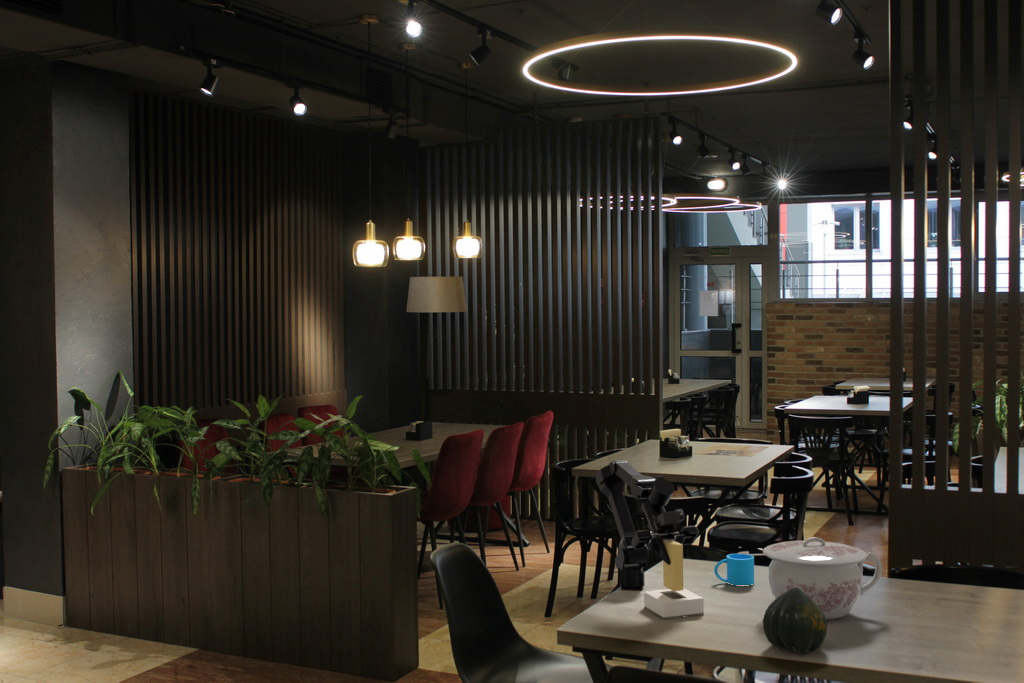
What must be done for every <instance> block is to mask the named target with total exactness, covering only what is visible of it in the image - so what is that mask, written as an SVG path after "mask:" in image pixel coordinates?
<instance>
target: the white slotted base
mask: <svg viewBox="0 0 1024 683" xmlns="http://www.w3.org/2000/svg"><path fill="white" fill-rule="evenodd" d="M643 594H644V595H643V602H644V603H643V605H644V607H643V608H644V609H646V610H647V609H648V610H647V611H649V612H650V613H652V612H653V613H652V614H654V615H656V616H657V615H658V616H657V617H659V616H660V617H659V618H661V619H662V618H663V620H668V619H667V618H671V619H675V618H674V617H680V618H684V617H683V616H688V617H694V616H693V615H697V616H703V615H702V614H705V613H704V610H705V608H704V607H705V606H704V597H702V596H700V595H698V594H697V593H694V592H692V591H690V590H688V589H686V588H685V587H683V590H681V591H672V590H670V589H668V588H667V589H666V588H665V589H657V590H656V589H655V590H647V591H643Z"/></svg>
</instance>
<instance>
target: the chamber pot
mask: <svg viewBox="0 0 1024 683" xmlns="http://www.w3.org/2000/svg"><path fill="white" fill-rule="evenodd" d="M762 554H763V555H765V556H766V557H768V558H769V559H771V561H770V564H769V566H768V581H769V585H770V589H771V594H772V595H773V597H774V600H775V599H776V598H777V597H779V596H780V595H782V594H783V593H785V592H786V591H788V590H790V589H792V588H796V587H798V588H799V589H801V590H802V591H803V592H804V593H805V594H806V595H807V596H808V597H809V598H810V599H811V600H812V601H813V602H814V603H815V604H816V605H817V606H818V607H819V608H820V609H821V610H822V612H823V613H824V615H825V618H826V621H830V620H836V619H840V618H842V617H846V616H847V615H848V614H849V613H850V612H851V611H852V610H853V608H854V606H855V605H856V603H857V602H858V600H859V599H860V598H861V597H862V595H864V594H865V593H866V592H867V591H869V590H870V589H871V588H873V587H874V586H875V585H876V584H877V583H878V581H879V580H880V579H881V577H882V574H883V564H882V562H881V560H880V558H879V557H878V556H877V554H875V553H872V552H866V550H865V551H864V550H862V549H861V548H858V547H855V546H852V545H848V544H845V543H840V542H833V541H825V540H824V539H823V538H820V537H815V536H814V537H809V538H807V539H806V540H790V541H789V540H788V541H781V542H777V543H773V544H770V545H766V547H764V548H763V549H762ZM867 561H871V562H874V567H875V568H874V569H875V571H874V574H873V576H872V577H871V578H870V579H869V580H868V582H866V583H865V584H863V583H864V582H863V580H864V579H863V578H864V577H863V575H864V574H863V572H864V567H863V566H864V563H865V562H867Z"/></svg>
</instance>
